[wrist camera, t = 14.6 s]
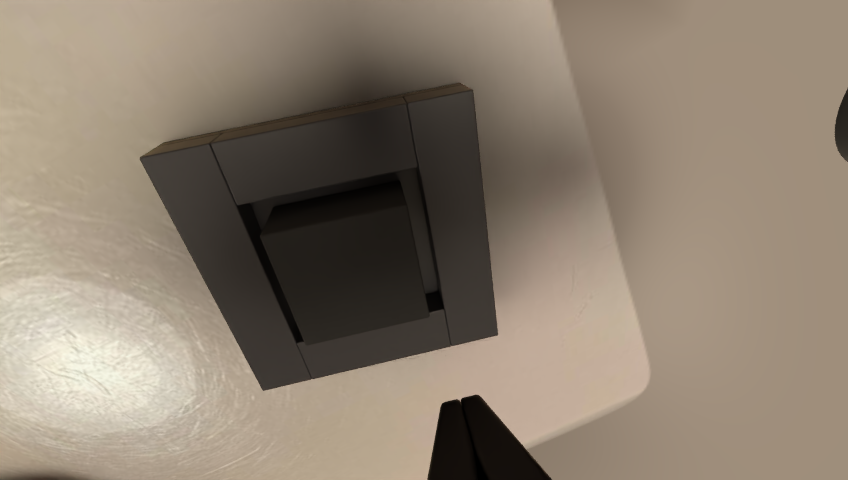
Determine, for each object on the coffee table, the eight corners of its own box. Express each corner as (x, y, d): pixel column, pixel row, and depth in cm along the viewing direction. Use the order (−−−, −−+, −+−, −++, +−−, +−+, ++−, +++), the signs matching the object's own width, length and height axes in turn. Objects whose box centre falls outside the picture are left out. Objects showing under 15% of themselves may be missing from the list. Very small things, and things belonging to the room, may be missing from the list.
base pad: (460, 82, 17) (473, 89, 15) (486, 310, 23) (498, 335, 21) (163, 142, 16) (138, 157, 14) (270, 360, 22) (262, 391, 20)
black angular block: (399, 179, 18) (407, 204, 15) (421, 282, 20) (430, 318, 18) (272, 206, 17) (258, 236, 15) (311, 307, 20) (305, 347, 18)
